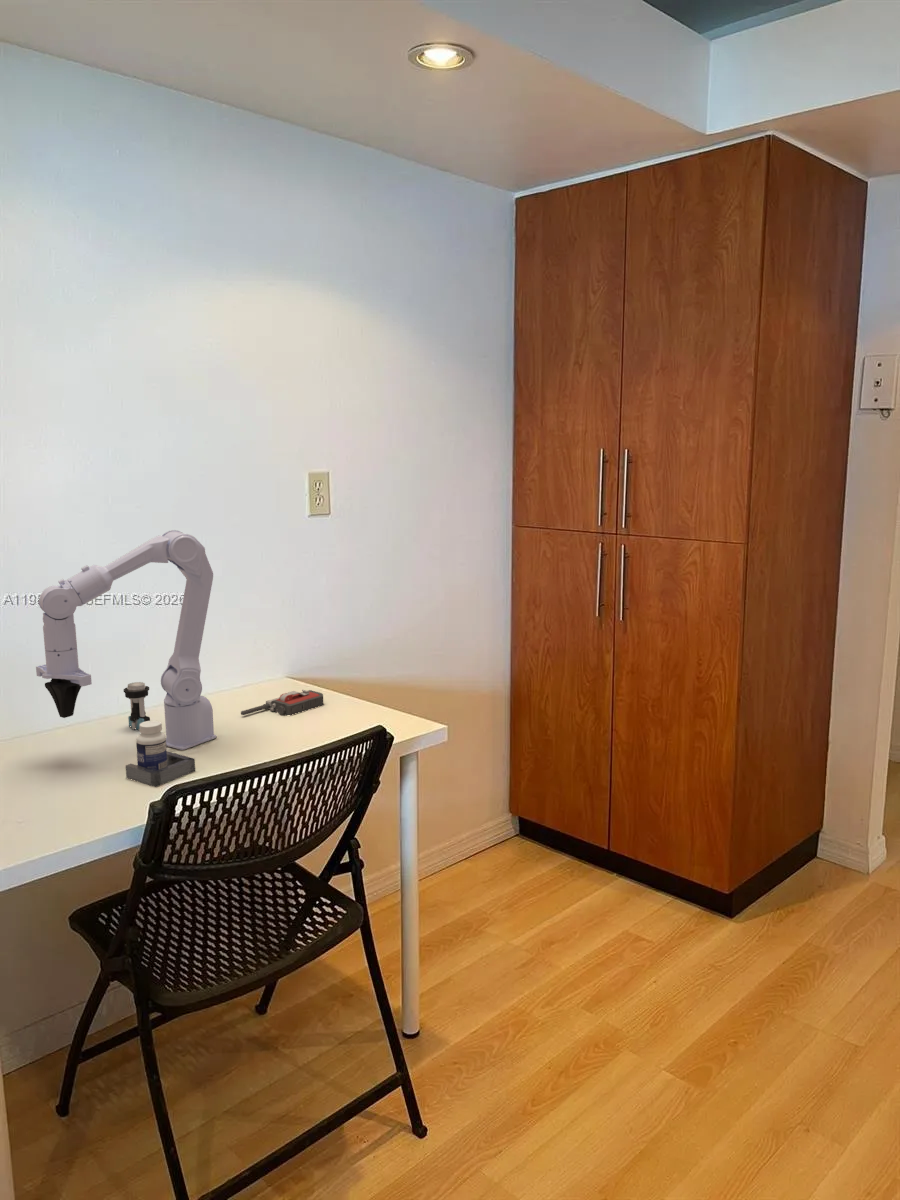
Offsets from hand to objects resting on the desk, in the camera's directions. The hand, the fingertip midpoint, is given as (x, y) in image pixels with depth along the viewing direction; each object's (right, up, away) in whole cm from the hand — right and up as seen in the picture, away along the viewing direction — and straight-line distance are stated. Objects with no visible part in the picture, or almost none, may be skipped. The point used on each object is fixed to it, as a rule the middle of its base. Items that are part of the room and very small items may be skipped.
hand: (66, 716), depth 176 cm
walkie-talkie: (+36, -4, +35) cm, 51 cm away
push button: (+7, -6, +22) cm, 24 cm away
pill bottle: (+18, -10, -4) cm, 21 cm away
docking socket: (+20, -10, -5) cm, 23 cm away
